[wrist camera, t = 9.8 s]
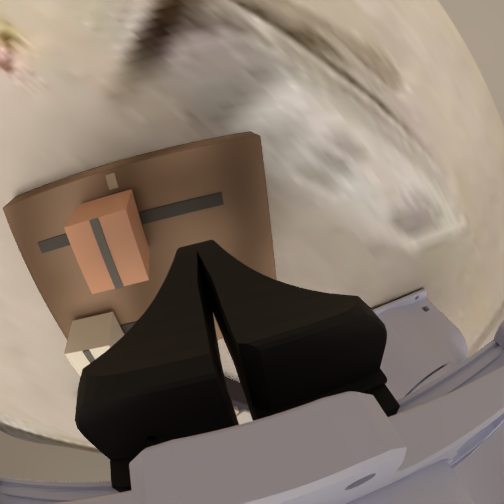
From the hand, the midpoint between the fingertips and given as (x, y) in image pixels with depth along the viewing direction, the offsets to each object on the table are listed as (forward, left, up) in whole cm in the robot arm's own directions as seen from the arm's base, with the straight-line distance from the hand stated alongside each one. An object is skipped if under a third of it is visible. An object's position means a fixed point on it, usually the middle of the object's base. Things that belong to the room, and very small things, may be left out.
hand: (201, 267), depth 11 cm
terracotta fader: (+4, 0, -6) cm, 7 cm away
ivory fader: (+8, +7, -6) cm, 12 cm away
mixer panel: (+3, +3, -8) cm, 10 cm away
